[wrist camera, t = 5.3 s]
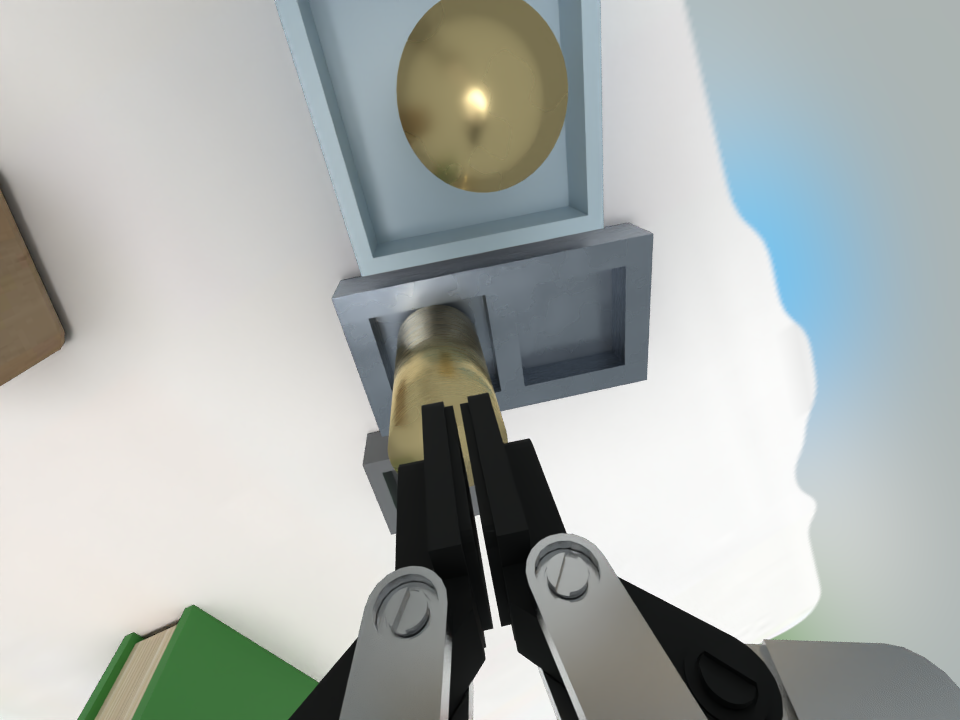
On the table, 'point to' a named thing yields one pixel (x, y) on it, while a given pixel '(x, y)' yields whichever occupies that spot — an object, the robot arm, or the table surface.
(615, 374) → the metal compartment tray
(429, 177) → the tray
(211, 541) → the table surface
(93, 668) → the table surface
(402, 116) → the billet
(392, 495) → the grey button housing
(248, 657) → the hardback book
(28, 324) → the wooden block
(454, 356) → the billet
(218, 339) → the table surface
